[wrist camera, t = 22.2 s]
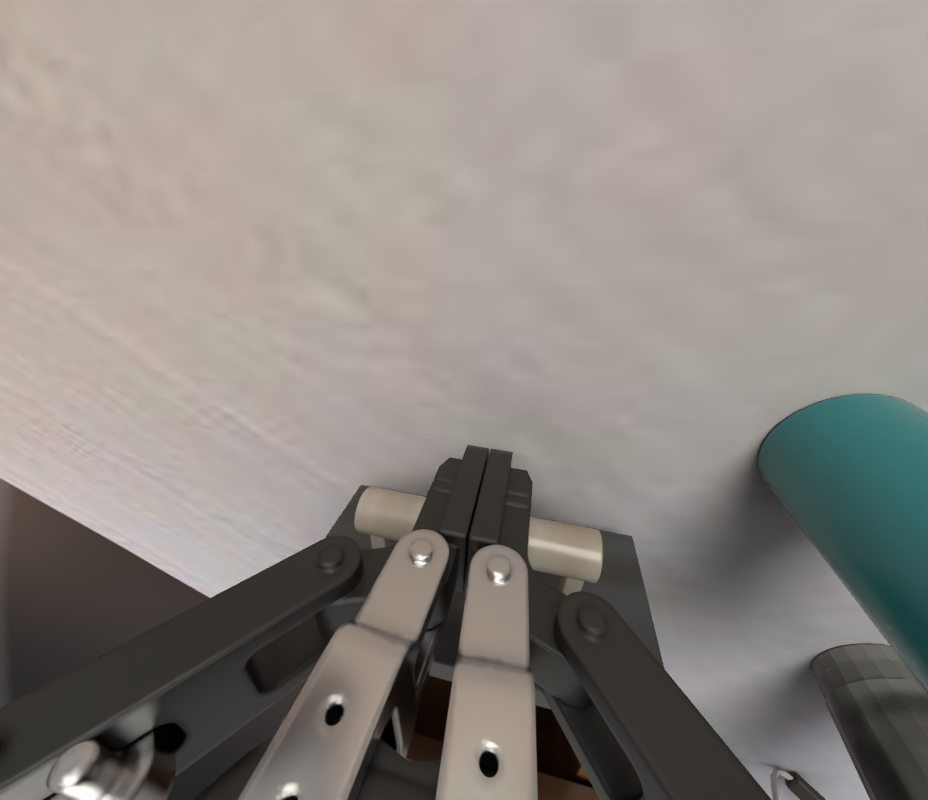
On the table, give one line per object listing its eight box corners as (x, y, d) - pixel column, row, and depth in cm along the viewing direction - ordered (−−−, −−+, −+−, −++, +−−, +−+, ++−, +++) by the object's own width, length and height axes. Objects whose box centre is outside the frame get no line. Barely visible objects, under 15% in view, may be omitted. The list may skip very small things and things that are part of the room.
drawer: (349, 416, 16) (234, 537, 10) (662, 463, 14) (743, 655, 8) (384, 630, 26) (334, 756, 20) (573, 680, 23) (580, 840, 17)
